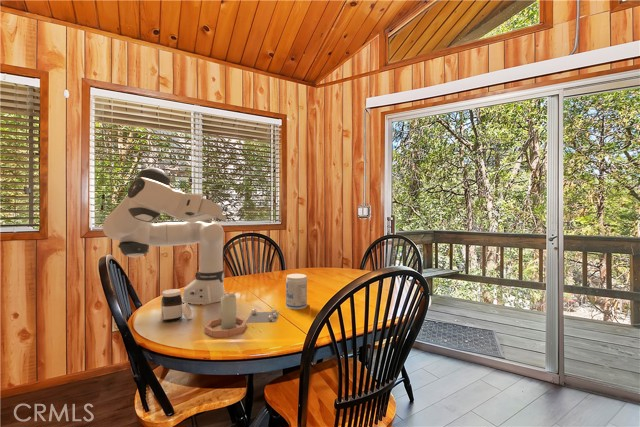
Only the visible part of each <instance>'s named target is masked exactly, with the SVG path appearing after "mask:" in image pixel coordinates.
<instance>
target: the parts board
mask: <svg viewBox="0 0 640 427" xmlns="http://www.w3.org/2000/svg"><path fill="white" fill-rule="evenodd" d="M279 315H280V311H277V309H276V308H272V309H271V311H257V309H256V308H252V309H251V311H250V314H249V316H248V317H247V319H246V320H247V324H248V323H254V324H255V323H256V324H257V323H261V324H262V323H265V324H266V323H277V321H278V319H279Z"/></svg>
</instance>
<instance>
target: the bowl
mask: <svg viewBox="0 0 640 427" xmlns="http://www.w3.org/2000/svg"><path fill="white" fill-rule="evenodd" d="M236 324H238V326H236V327H235V328H232V329H229V330H222V329H214V328H213V327H216V326H218V325H221V317H219V318H214V319H210V320H209V321H208V322H207V323H206V324H205V325H204V328H203V329H204V330H203V331H204V333H205V334H206V335H208V336H210V337H212V338H214V337H215V338H219V337H220V338H223V337H225V338H228V337H233V336H236V335H239V334H241V333H244V332H245V329H246V328H247V326H248V323H247V319H245V318H243V317H240V316H236Z"/></svg>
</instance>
